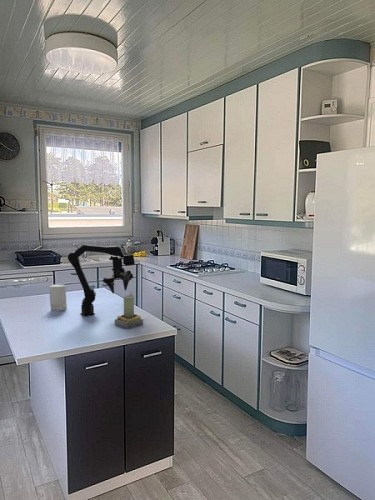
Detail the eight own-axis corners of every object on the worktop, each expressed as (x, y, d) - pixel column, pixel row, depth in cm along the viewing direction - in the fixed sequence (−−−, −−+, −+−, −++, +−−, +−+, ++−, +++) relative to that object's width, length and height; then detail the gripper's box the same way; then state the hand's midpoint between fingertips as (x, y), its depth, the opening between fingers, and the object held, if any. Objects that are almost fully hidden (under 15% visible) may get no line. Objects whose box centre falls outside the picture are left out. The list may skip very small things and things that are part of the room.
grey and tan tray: (127, 329, 205) (127, 320, 205) (114, 324, 213) (114, 316, 212) (143, 324, 214) (143, 316, 213) (130, 320, 221) (130, 312, 220)
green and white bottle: (126, 320, 210) (125, 293, 209) (122, 318, 215) (122, 291, 213) (135, 319, 213) (135, 292, 211) (131, 316, 218) (131, 290, 216)
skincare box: (67, 308, 246) (66, 284, 245) (62, 311, 240) (61, 286, 238) (54, 307, 247) (53, 284, 245) (49, 310, 241) (48, 286, 239)
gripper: (112, 270, 221) (114, 296, 223) (138, 265, 234) (139, 290, 236) (101, 268, 229) (103, 294, 231) (126, 263, 242) (128, 288, 244)
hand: (119, 291), depth 235 cm, fingers open, 9 cm apart
